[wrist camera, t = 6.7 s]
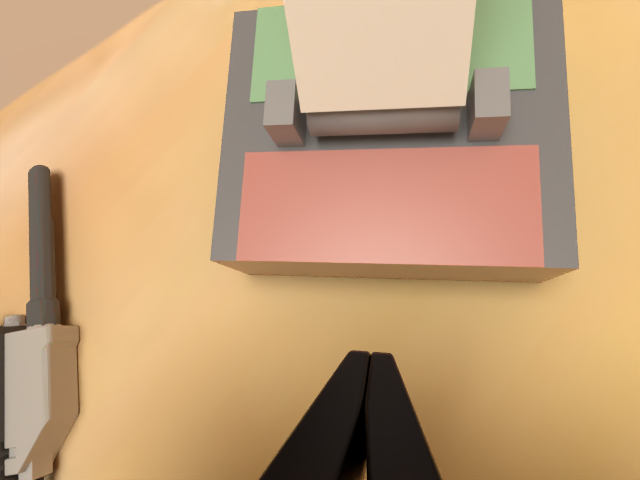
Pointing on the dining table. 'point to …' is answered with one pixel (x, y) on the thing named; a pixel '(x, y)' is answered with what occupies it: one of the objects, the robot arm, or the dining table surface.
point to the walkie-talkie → (37, 357)
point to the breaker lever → (381, 64)
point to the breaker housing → (403, 167)
